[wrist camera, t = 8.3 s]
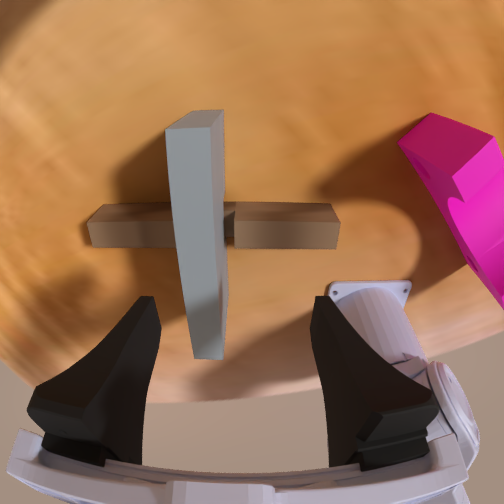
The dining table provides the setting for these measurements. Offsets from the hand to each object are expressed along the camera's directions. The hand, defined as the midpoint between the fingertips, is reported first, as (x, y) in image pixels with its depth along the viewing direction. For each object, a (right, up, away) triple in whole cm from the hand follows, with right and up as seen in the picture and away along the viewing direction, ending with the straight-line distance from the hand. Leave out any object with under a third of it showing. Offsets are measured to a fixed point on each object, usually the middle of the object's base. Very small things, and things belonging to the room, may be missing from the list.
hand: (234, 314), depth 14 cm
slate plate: (-2, +5, +9) cm, 11 cm away
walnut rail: (-2, +5, +9) cm, 11 cm away
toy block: (+19, +8, +8) cm, 22 cm away
